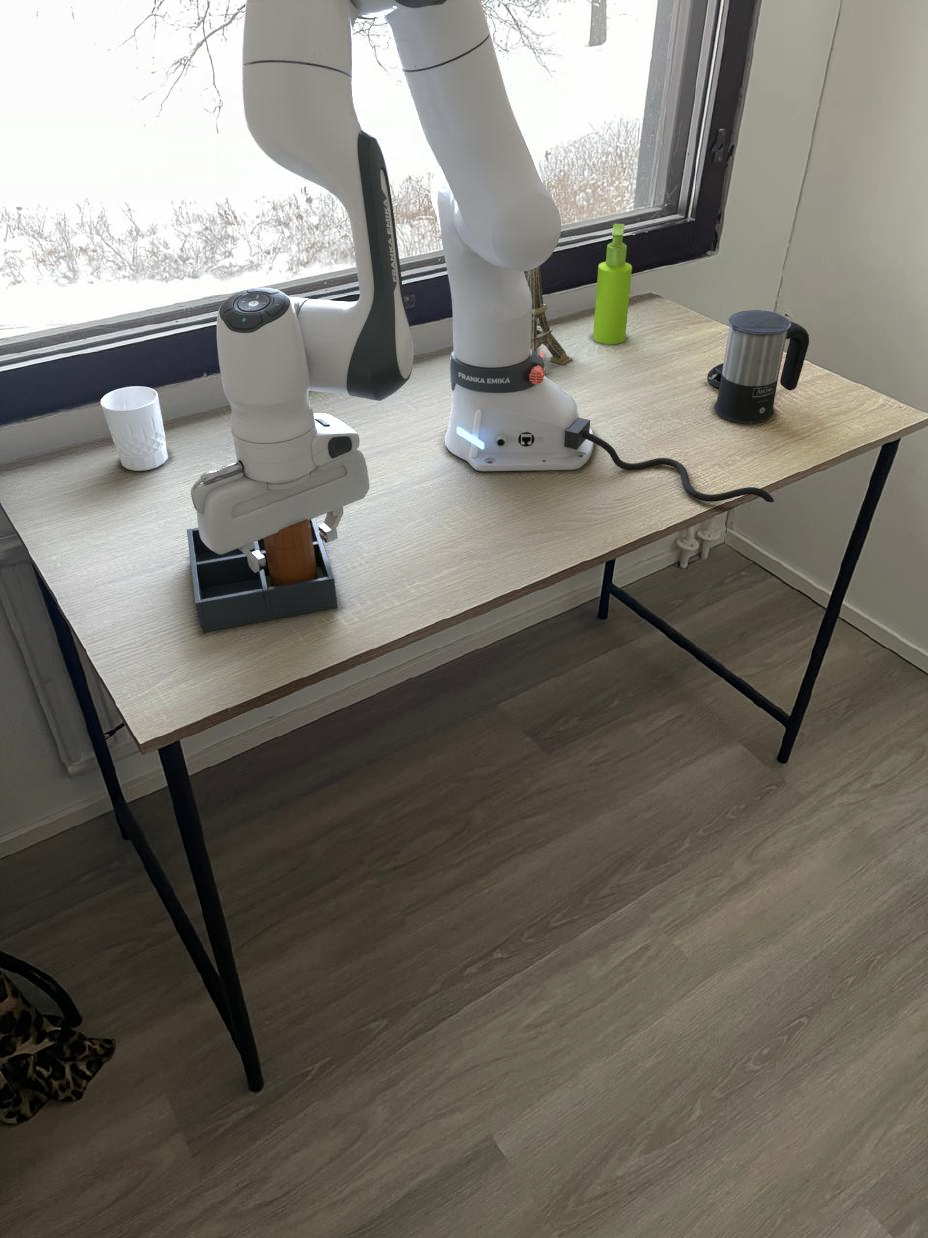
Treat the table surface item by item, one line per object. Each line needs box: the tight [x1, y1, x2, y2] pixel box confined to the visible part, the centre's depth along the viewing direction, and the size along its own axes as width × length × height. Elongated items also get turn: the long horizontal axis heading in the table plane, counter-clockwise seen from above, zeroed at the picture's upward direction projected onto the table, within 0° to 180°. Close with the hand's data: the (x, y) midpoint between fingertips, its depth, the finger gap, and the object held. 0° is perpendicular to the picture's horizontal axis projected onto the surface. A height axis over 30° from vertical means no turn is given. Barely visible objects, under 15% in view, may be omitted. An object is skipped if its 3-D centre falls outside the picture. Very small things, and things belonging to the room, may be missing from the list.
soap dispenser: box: [592, 223, 633, 345], centre depth 166 cm, size 6×7×20 cm
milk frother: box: [706, 309, 810, 425], centre depth 148 cm, size 14×16×15 cm
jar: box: [263, 519, 318, 587], centre depth 110 cm, size 6×6×10 cm
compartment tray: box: [186, 517, 338, 633], centre depth 114 cm, size 16×16×4 cm
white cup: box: [100, 385, 169, 472], centre depth 136 cm, size 8×8×10 cm
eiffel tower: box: [525, 265, 573, 366], centre depth 157 cm, size 11×11×25 cm
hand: (294, 553), depth 110 cm, fingers open, 8 cm apart
